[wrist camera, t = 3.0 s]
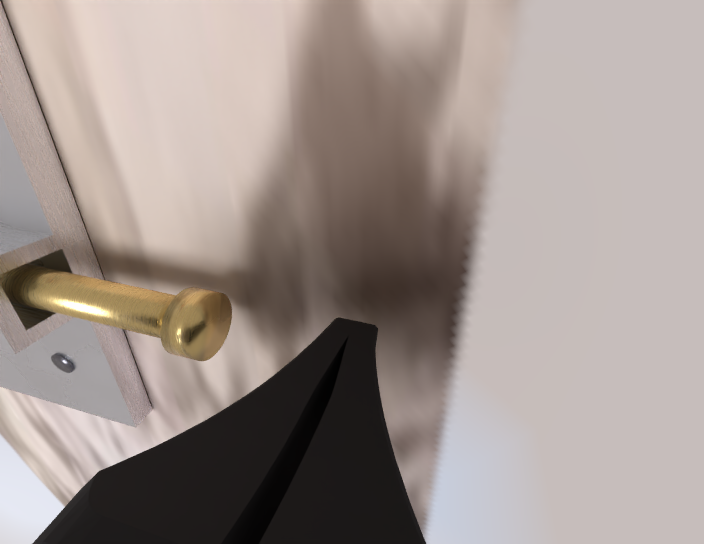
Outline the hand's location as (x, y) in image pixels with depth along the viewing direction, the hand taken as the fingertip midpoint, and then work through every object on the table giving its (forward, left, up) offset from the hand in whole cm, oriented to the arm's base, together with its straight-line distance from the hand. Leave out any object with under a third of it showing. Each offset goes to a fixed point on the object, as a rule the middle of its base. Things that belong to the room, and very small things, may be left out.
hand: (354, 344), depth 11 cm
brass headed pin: (0, +11, -1) cm, 11 cm away
